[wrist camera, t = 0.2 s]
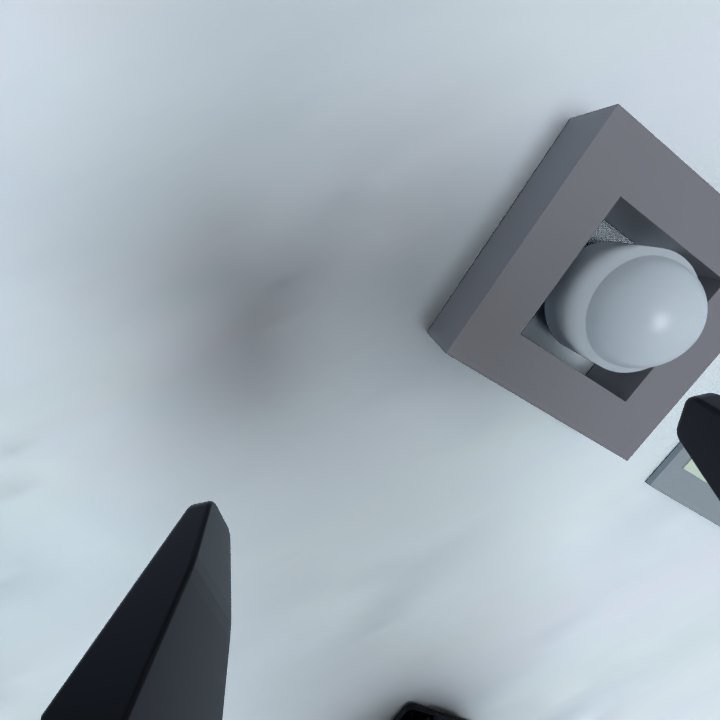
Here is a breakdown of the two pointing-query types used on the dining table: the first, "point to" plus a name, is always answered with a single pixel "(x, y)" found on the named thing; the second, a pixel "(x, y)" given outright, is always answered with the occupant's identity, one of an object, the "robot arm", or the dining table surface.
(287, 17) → the dining table surface
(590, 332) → the dome
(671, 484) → the track board
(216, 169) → the dining table surface
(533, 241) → the button box
